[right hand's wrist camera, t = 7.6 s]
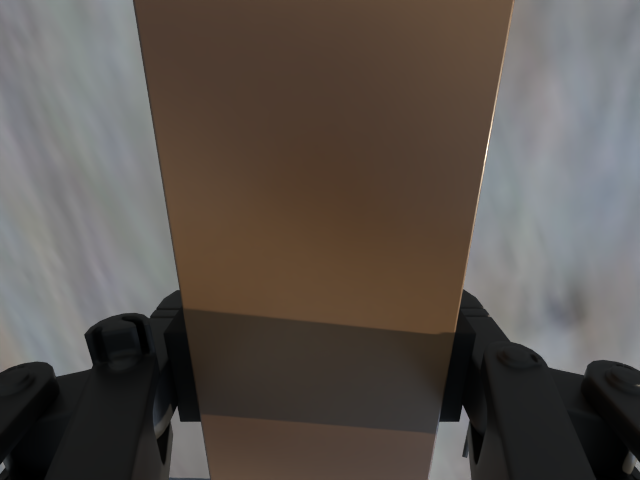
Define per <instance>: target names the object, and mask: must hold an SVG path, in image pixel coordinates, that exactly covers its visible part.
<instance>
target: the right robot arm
mask: <svg viewBox="0 0 640 480" xmlns="http://www.w3.org/2000/svg"><path fill="white" fill-rule="evenodd" d="M84 335H85V339H86V342H87V346H88V349H89V352H90V356H91V359H92V363H93V366H92V369H89V370H86V371H81V372H77V373H72V374H67V375H63V376H58V377H56V376H55V373H54V370H53V367H52V366H51V365H49V364H48V363H45V362H31V363H24V364H20V365H17V366H14V367H11V368H8V369H7V370H5V371H3V372H1V373H0V464H1V463H2V462H3V463H4V465H5V469H4V470H3V471H2V472H1V474H0V480H169V470H170V461H171V451H172V441H173V431H172V426H171V421H170V420H171V418H172V416H173V414H174V412H175V409H176V407H177V406H178V411H179V416H180V422H201V419H200V412H199V406H198V400H197V394H196V388H195V382H194V375H193V369H192V363H191V357H190V351H189V344H188V338H187V332H186V326H185V320H184V313H183V307H182V301H181V295H180V290H177V291H175V292H173V293H172V294H170V295H169V296H167V297H166V298H164V299H163V301H162V302H161V303H160V304H159V306H158V307H157V310H155V311H154V312H153V313H152V315H151V316H150V318H147V317H146V316H145V315H142V314H138V313H125V314H120V315H116V316H111V317H109V318H107V319H104V320H102V321H100V322H98V323H97V324H95V325H93V326H92V327H90V329H89V330H88V331H87V332H86V333H85V334H84ZM462 405H463V406H464V408H465V411H466V413H467V415H468V417H469V419H470V421H469V426H468V430H467V435H466V440H465V445H464V450H463V456H462V457H466V458H467V456H468V451H469V460H470V469H471V479H472V480H640V472H639V471H638V469H637V468H636V467H635V464H636V462H637V460H638V461H639V462H640V371H639V370H637V369H635V368H633V367H631V366H628V365H626V364H623V363H619V362H614V361H607V360H599V361H593V362H591V363H590V364H589V365H588V366H587V369H586V372H585V374H584V375H580V374H575V373H570V372H566V371H561V370H556V369H552V368H549V367H548V366H547V364H546V362H545V361H544V360H543V358H542V357H541V356H540V355H538V354H537V353H536V352H534V351H533V350H531V349H529V348H527V347H525V346H523V345H521V344H517V343H513V342H510V340H509V339H508V338H507V337H506V335H505V334H504V333H503V332H502V330H501V329H500V328H499V326H498V325H497V324H496V323H495V321H494V320H493V319H492V317H490V315H489V314H488V312H487V311H486V310H485V309H483V306H482V305H481V303H480V302H479V301H478V300H477V298H476V297H474V296H473V295H471V294H470V293H468V292H467V291H465V290H463V291H462V297H461V302H460V308H459V313H458V319H457V325H456V330H455V336H454V341H453V347H452V353H451V358H450V364H449V369H448V375H447V380H446V386H445V392H444V397H443V403H442V408H441V414H440V419H439V422H459V420H460V415H461V410H462Z"/></svg>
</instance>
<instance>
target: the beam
mask: <svg viewBox="0 0 640 480" xmlns="http://www.w3.org/2000/svg"><path fill="white" fill-rule="evenodd" d="M514 1H515V0H133V4H134V10H135V16H136V22H137V28H138V35H139V41H140V47H141V53H142V59H143V66H144V72H145V78H146V84H147V90H148V97H149V103H150V109H151V115H152V121H153V127H154V134H155V140H156V146H157V152H158V158H159V165H160V171H161V177H162V183H163V189H164V196H165V202H166V208H167V214H168V220H169V227H170V233H171V239H172V245H173V251H174V258H175V264H176V270H177V276H178V282H179V289H180V295H181V301H182V307H183V313H184V320H185V326H186V332H187V338H188V344H189V351H190V357H191V363H192V369H193V375H194V382H195V388H196V394H197V400H198V406H199V412H200V419H201V425H202V431H203V437H204V443H205V450H206V456H207V462H208V468H209V474H210V480H429V475H430V470H431V464H432V459H433V453H434V447H435V442H436V436H437V431H438V425H439V419H440V414H441V408H442V403H443V397H444V392H445V386H446V380H447V375H448V369H449V364H450V358H451V353H452V347H453V341H454V336H455V330H456V325H457V319H458V313H459V308H460V302H461V297H462V291H463V286H464V280H465V274H466V269H467V263H468V258H469V252H470V247H471V241H472V235H473V230H474V224H475V219H476V213H477V207H478V202H479V196H480V191H481V185H482V180H483V174H484V168H485V163H486V157H487V152H488V146H489V141H490V135H491V129H492V124H493V118H494V113H495V107H496V101H497V96H498V90H499V85H500V79H501V74H502V68H503V62H504V57H505V51H506V46H507V40H508V35H509V29H510V23H511V18H512V12H513V7H514Z"/></svg>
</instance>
